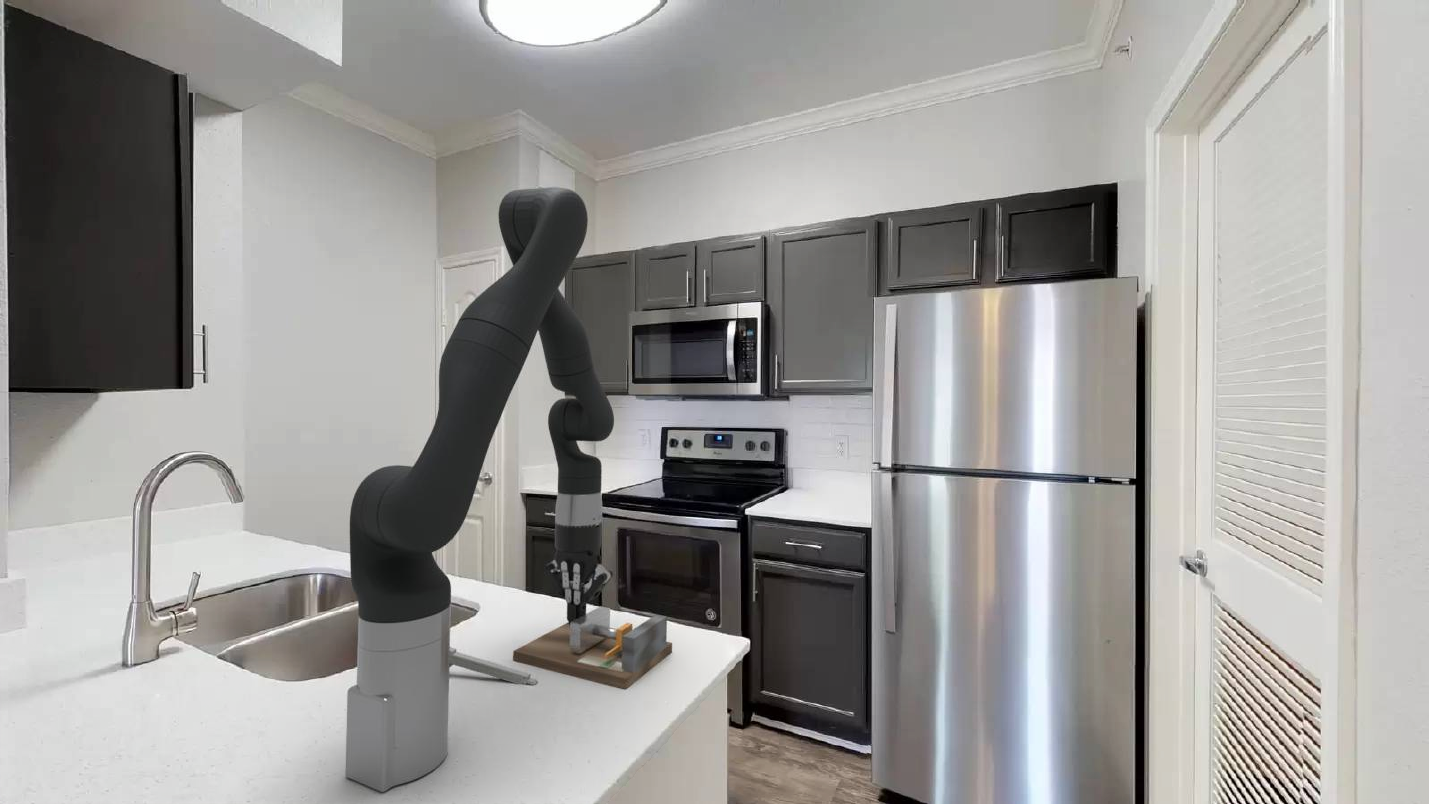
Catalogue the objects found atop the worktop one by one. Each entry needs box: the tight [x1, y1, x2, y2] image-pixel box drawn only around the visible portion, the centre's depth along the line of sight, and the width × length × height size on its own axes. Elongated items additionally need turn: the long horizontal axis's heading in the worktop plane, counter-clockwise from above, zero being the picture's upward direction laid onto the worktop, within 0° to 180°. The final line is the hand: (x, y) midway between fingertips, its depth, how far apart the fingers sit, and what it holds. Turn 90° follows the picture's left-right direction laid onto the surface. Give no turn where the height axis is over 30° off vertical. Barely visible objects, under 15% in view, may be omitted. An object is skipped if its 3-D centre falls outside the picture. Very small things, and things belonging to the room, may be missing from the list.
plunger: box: [570, 605, 618, 653], centre depth 92 cm, size 8×7×4 cm
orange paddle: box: [605, 622, 633, 659], centre depth 89 cm, size 6×1×3 cm, turn 156°
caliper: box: [449, 646, 539, 686], centre depth 85 cm, size 20×1×6 cm, turn 81°
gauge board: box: [512, 614, 673, 690], centre depth 92 cm, size 14×21×6 cm, turn 66°
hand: (576, 624), depth 94 cm, fingers closed
